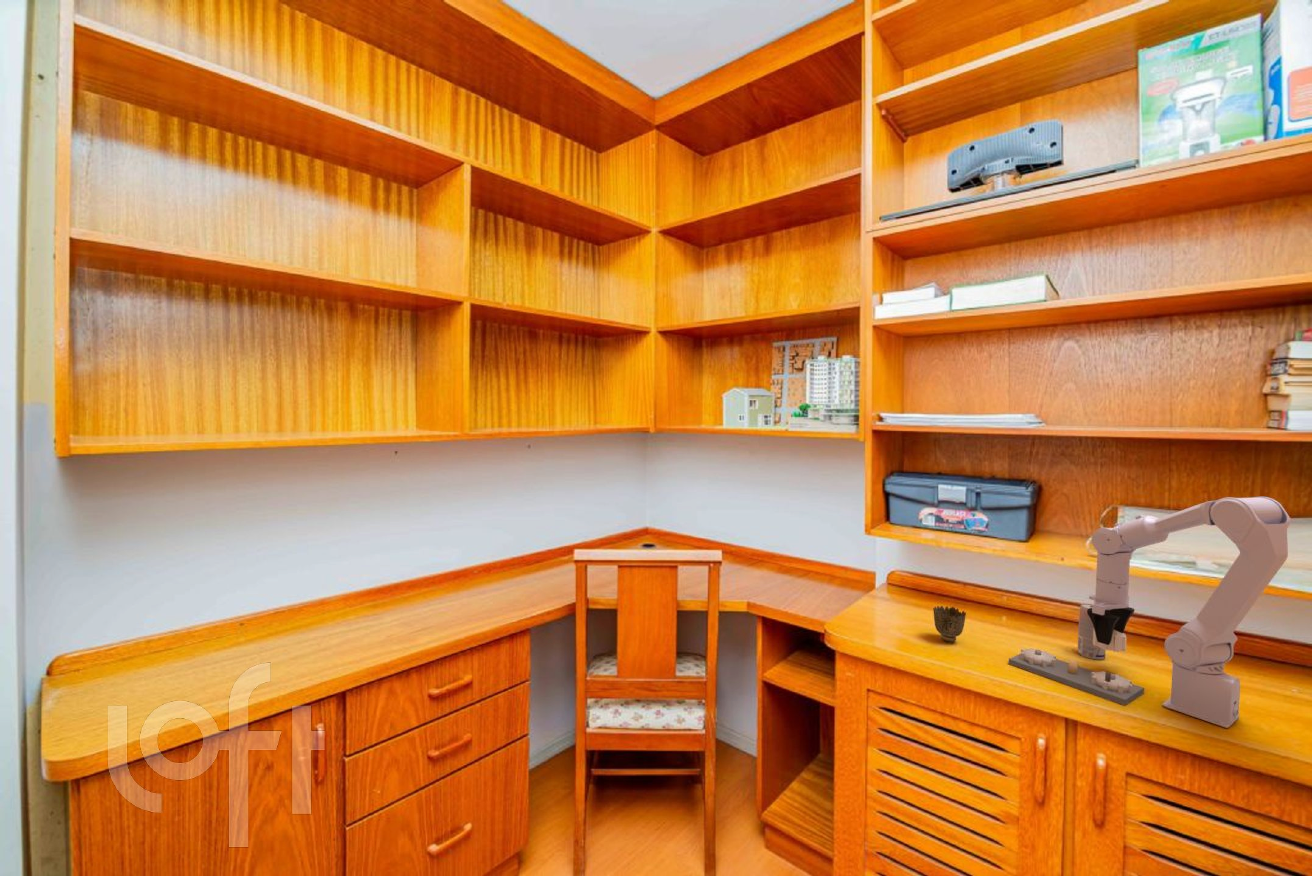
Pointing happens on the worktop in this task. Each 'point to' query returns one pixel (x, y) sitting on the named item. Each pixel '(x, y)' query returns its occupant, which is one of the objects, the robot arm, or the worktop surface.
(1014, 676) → the worktop surface
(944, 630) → the cup
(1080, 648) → the energy drink
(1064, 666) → the gear board
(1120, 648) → the loose gear
